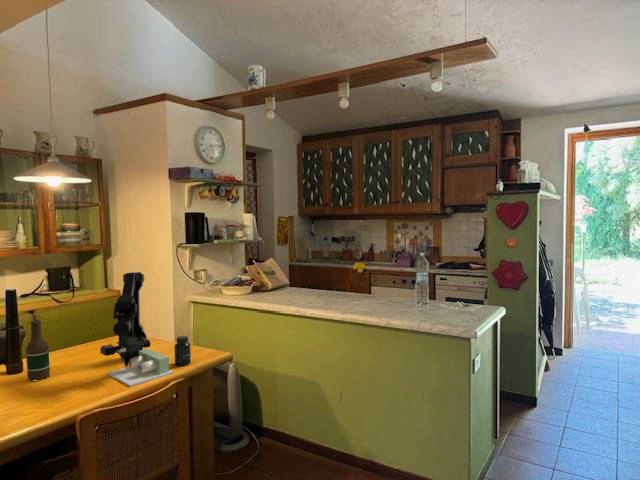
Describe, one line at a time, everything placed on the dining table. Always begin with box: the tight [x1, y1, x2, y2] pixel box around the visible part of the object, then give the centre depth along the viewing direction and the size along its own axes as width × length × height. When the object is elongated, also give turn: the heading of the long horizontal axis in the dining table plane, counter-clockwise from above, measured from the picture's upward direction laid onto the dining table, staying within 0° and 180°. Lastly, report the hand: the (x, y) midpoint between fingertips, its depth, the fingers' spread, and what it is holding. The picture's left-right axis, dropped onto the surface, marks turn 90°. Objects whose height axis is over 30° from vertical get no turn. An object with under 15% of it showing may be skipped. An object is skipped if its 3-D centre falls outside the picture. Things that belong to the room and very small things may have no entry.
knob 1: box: [127, 355, 146, 368], centre depth 187 cm, size 12×4×4 cm, turn 139°
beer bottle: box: [25, 319, 51, 382], centre depth 178 cm, size 8×8×24 cm
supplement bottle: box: [173, 335, 192, 367], centre depth 193 cm, size 7×7×12 cm
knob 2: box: [138, 360, 157, 373], centre depth 181 cm, size 12×4×4 cm, turn 139°
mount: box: [107, 348, 174, 388], centre depth 181 cm, size 20×18×7 cm
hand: (126, 366), depth 182 cm, fingers closed
